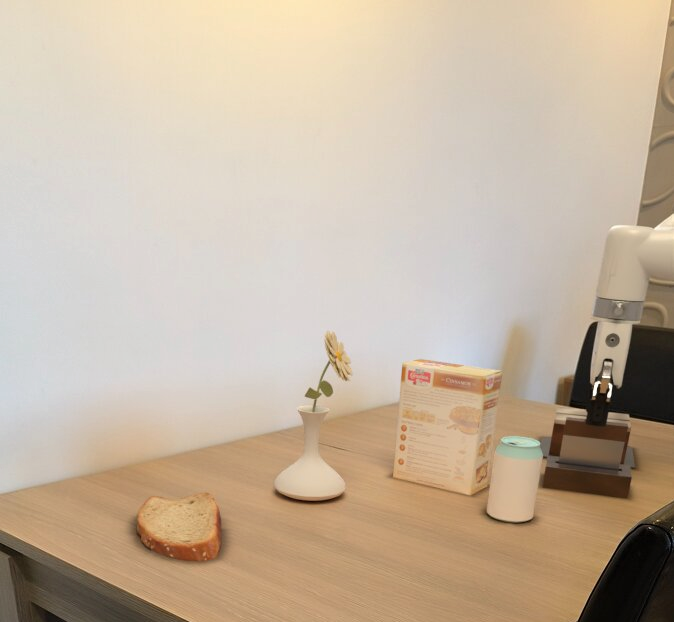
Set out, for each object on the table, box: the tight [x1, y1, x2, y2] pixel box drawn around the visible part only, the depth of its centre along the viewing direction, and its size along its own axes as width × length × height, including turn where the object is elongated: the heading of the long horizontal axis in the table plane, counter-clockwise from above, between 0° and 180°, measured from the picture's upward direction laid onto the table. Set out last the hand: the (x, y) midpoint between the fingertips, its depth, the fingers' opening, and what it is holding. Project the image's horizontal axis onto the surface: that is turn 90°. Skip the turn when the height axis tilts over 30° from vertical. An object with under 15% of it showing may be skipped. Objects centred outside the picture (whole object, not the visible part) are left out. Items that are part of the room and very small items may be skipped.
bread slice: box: [136, 491, 222, 563], centre depth 114 cm, size 18×18×4 cm
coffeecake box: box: [392, 358, 503, 496], centre depth 137 cm, size 15×7×20 cm, turn 56°
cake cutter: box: [559, 417, 628, 471], centre depth 140 cm, size 10×2×12 cm, turn 74°
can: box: [486, 435, 544, 524], centre depth 124 cm, size 7×7×12 cm
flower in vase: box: [273, 330, 353, 502], centre depth 127 cm, size 13×11×25 cm
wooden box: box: [540, 406, 636, 470], centre depth 162 cm, size 18×16×7 cm
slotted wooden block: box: [541, 455, 633, 500], centre depth 142 cm, size 14×7×4 cm, turn 74°
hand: (595, 419), depth 138 cm, fingers open, 9 cm apart
